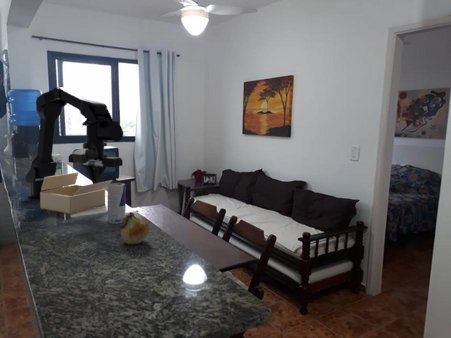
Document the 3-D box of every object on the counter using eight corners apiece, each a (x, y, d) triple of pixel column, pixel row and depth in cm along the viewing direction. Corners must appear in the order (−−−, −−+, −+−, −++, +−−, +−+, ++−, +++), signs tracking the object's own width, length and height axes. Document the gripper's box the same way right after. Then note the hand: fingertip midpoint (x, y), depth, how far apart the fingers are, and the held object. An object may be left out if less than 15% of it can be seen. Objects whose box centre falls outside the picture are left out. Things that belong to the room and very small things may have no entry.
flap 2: (81, 186, 108) (82, 186, 108) (112, 179, 122) (112, 180, 122) (72, 194, 110) (73, 195, 110) (104, 187, 124) (104, 188, 124)
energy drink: (128, 220, 107) (129, 183, 105) (118, 224, 102) (118, 186, 100) (114, 218, 108) (115, 182, 107) (103, 222, 103) (103, 184, 102)
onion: (121, 249, 82) (121, 218, 81) (117, 239, 90) (118, 210, 89) (151, 246, 86) (152, 216, 84) (146, 236, 93) (146, 208, 92)
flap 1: (41, 190, 114) (41, 190, 114) (75, 184, 128) (74, 183, 128) (45, 177, 113) (44, 177, 113) (78, 172, 127) (78, 172, 127)
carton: (39, 209, 114) (39, 191, 114) (76, 199, 130) (76, 184, 129) (71, 214, 110) (71, 197, 109) (105, 204, 125) (105, 188, 124)
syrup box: (54, 186, 152) (54, 155, 150) (43, 185, 153) (42, 154, 151) (63, 184, 158) (62, 154, 156) (52, 183, 159) (51, 153, 157)
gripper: (55, 138, 109) (55, 185, 111) (101, 142, 103) (100, 191, 105) (80, 137, 119) (80, 180, 121) (123, 141, 113) (123, 186, 115)
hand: (95, 184), depth 115 cm, fingers closed
